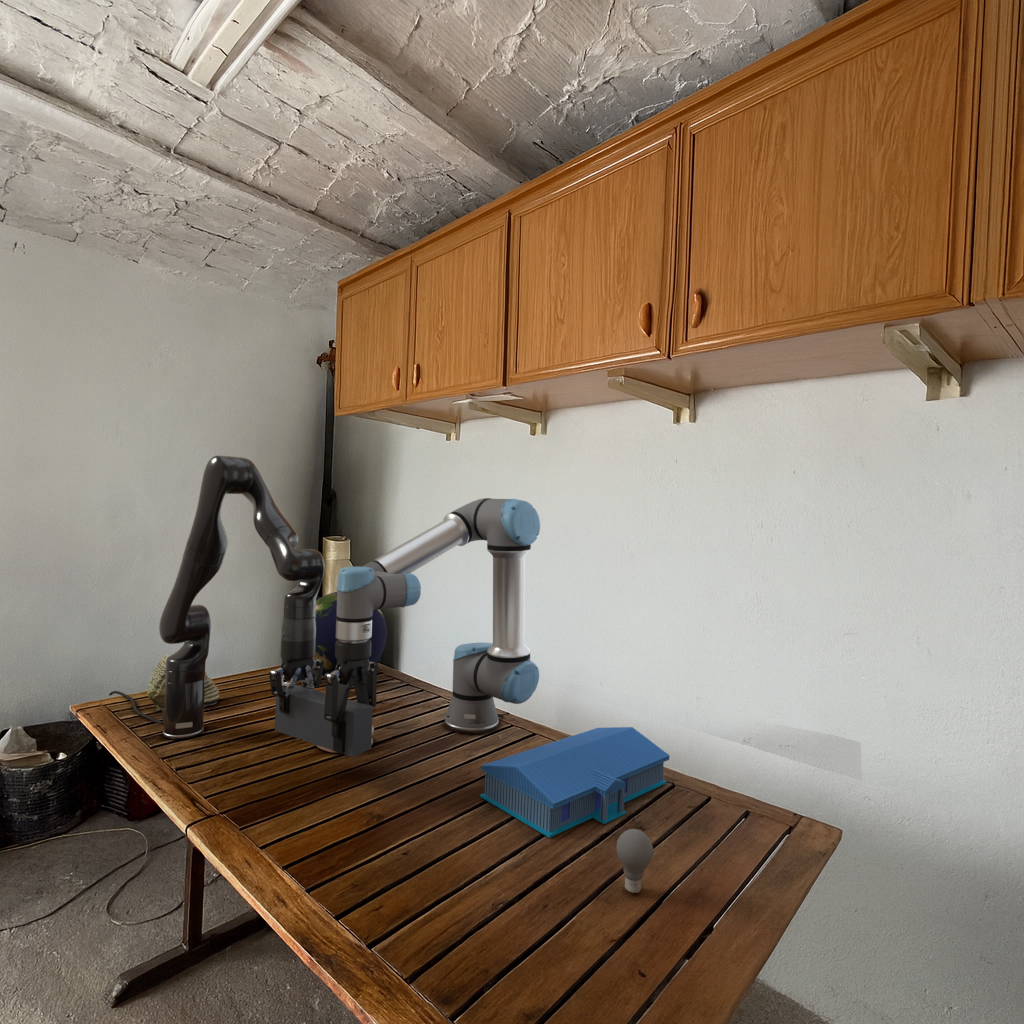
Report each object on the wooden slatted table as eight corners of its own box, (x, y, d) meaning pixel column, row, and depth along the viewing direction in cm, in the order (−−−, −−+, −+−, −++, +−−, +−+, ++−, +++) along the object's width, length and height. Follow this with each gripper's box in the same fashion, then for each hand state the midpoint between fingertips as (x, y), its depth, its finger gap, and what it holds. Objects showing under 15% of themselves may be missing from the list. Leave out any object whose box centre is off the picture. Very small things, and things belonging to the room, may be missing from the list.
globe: (276, 681, 212) (279, 592, 211) (333, 662, 239) (336, 583, 239) (350, 695, 201) (354, 601, 200) (401, 673, 228) (404, 590, 228)
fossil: (144, 707, 182) (145, 655, 182) (212, 696, 194) (213, 647, 194) (151, 716, 175) (153, 662, 175) (221, 703, 188) (223, 653, 188)
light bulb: (610, 879, 108) (613, 822, 108) (644, 879, 109) (647, 822, 109) (619, 902, 102) (622, 840, 102) (655, 901, 103) (658, 840, 103)
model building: (561, 845, 119) (564, 792, 119) (478, 796, 137) (480, 750, 137) (678, 787, 145) (680, 744, 145) (596, 753, 163) (598, 714, 163)
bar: (274, 730, 145) (276, 690, 145) (294, 723, 149) (295, 684, 149) (352, 757, 132) (354, 712, 132) (371, 749, 137) (372, 706, 136)
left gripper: (283, 644, 137) (280, 722, 137) (334, 633, 149) (331, 705, 149) (261, 639, 141) (258, 714, 141) (312, 629, 153) (309, 698, 153)
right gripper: (332, 650, 126) (328, 765, 126) (396, 635, 142) (392, 737, 142) (307, 644, 130) (303, 756, 130) (371, 630, 146) (367, 730, 146)
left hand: (295, 709), depth 145 cm, fingers closed on bar, 5 cm apart
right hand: (349, 746), depth 136 cm, fingers closed on bar, 5 cm apart
